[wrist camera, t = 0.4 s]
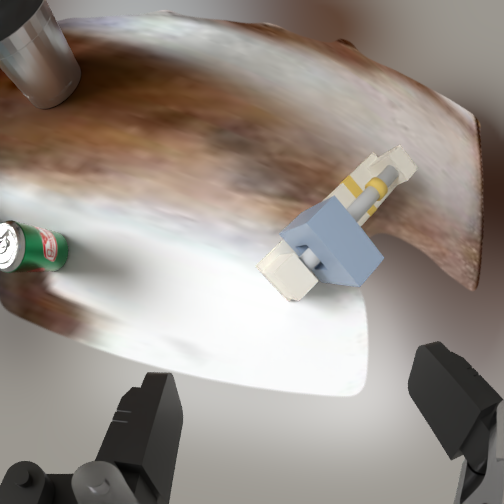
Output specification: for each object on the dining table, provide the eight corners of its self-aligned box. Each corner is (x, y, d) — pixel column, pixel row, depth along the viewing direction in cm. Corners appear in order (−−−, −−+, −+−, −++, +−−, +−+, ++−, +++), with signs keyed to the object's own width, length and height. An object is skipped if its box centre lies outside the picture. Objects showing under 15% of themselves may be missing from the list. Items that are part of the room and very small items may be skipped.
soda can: (75, 260, 33) (27, 257, 21) (47, 277, 32) (-6, 281, 20) (61, 224, 32) (12, 209, 21) (34, 243, 32) (-20, 235, 20)
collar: (321, 282, 36) (359, 287, 27) (278, 233, 36) (306, 223, 26) (342, 260, 37) (384, 258, 28) (301, 212, 36) (334, 195, 27)
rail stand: (287, 301, 37) (305, 308, 31) (254, 265, 36) (266, 265, 30) (395, 185, 41) (422, 174, 34) (370, 153, 40) (395, 138, 34)
